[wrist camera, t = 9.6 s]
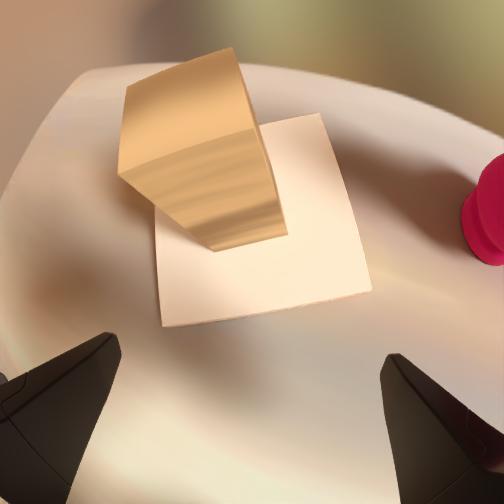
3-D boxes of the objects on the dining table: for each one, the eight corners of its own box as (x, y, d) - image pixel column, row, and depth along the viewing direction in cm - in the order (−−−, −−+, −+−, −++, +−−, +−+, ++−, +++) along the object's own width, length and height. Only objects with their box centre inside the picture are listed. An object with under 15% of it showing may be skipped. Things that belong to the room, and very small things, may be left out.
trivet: (368, 292, 18) (372, 289, 17) (172, 327, 21) (162, 326, 19) (319, 124, 23) (319, 112, 21) (162, 164, 25) (154, 156, 23)
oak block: (288, 234, 19) (253, 127, 9) (215, 252, 20) (117, 174, 9) (273, 170, 21) (232, 47, 10) (206, 188, 21) (127, 86, 11)
